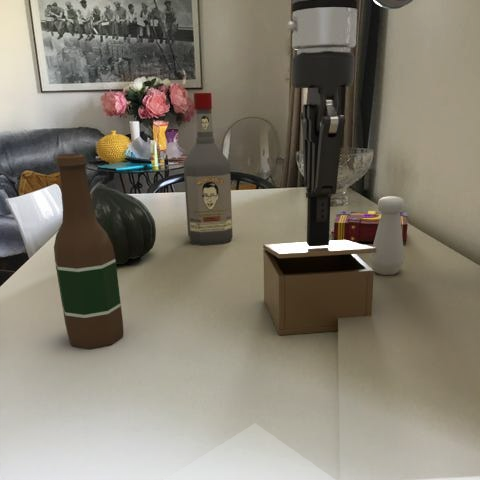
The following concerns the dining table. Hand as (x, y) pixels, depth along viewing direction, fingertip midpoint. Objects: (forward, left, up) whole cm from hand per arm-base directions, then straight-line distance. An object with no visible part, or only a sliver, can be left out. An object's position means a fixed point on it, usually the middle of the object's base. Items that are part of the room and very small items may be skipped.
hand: (317, 244), depth 77 cm
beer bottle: (+29, +9, -11) cm, 33 cm away
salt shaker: (-12, -23, -11) cm, 28 cm away
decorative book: (-10, -47, -11) cm, 49 cm away
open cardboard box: (0, -2, -11) cm, 11 cm away
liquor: (+24, -44, -11) cm, 52 cm away
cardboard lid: (0, -2, -1) cm, 2 cm away
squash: (+39, -28, -11) cm, 50 cm away
